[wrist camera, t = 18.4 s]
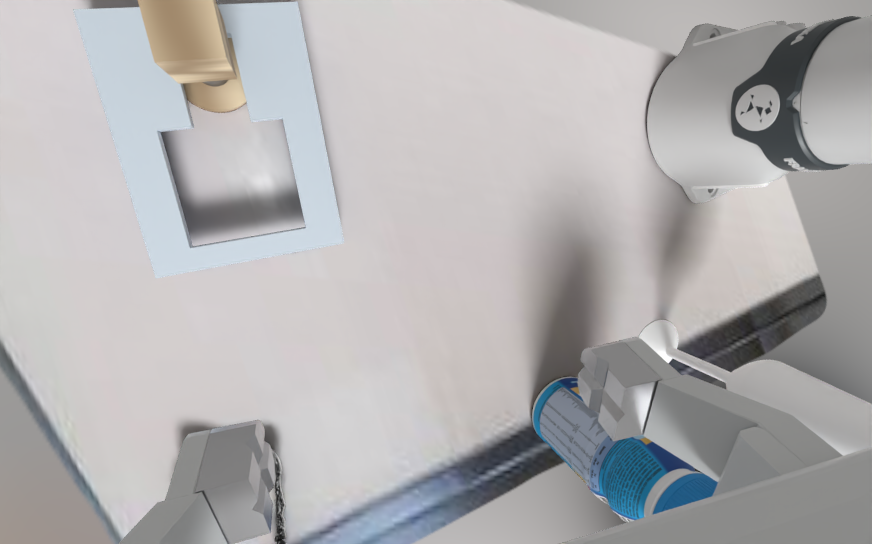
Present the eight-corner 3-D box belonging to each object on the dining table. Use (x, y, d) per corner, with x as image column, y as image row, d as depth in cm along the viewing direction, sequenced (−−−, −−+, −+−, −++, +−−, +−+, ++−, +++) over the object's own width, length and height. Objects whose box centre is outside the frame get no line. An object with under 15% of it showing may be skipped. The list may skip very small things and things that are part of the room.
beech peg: (246, 27, 34) (227, -40, 24) (264, 108, 35) (254, 78, 25) (160, 31, 32) (99, -39, 22) (182, 116, 34) (135, 87, 23)
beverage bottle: (522, 389, 48) (667, 518, 30) (586, 362, 51) (758, 468, 32) (535, 452, 51) (677, 608, 32) (595, 424, 53) (762, 555, 34)
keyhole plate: (296, 17, 35) (297, 1, 32) (340, 238, 39) (344, 243, 36) (94, 26, 31) (73, 9, 28) (167, 270, 35) (155, 278, 32)
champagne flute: (632, 374, 53) (879, 514, 31) (637, 321, 52) (901, 427, 29) (675, 368, 55) (936, 494, 33) (681, 317, 54) (959, 412, 32)
